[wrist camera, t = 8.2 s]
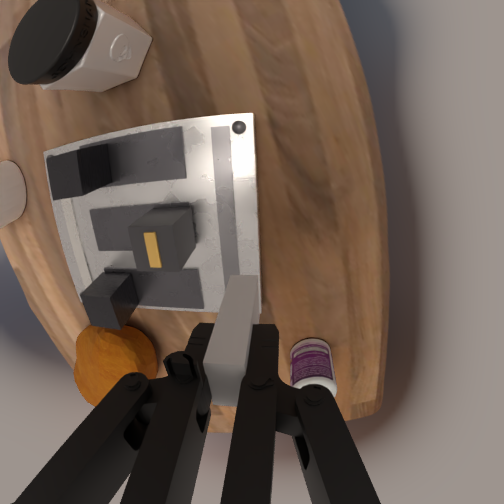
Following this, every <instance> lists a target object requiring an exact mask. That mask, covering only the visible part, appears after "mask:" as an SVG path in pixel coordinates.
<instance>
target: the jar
mask: <svg viewBox="0 0 504 504" xmlns="http://www.w3.org/2000/svg"><path fill="white" fill-rule="evenodd" d="M151 42H152V37H151V36H150V35H149V34H148V33H147V32H146V31H145V30H144V29H143V28H141V27H140V26H139V25H138V24H137V23H136V22H135V21H134V20H133V19H132V18H131V17H129V16H127V15H126V14H124V13H122V12H120V11H119V10H117V9H115V8H113V7H111V6H109V5H108V4H106V3H104V2H102V1H100V0H38V1H37V2H36V3H35V4H34V5H33V6H32V7H31V8H30V9H29V10H28V11H27V13H26V14H25V15H24V17H23V18H22V20H21V21H20V23H19V25H18V27H17V29H16V31H15V33H14V36H13V38H12V41H11V45H10V49H9V55H8V66H9V71H10V74H11V76H12V78H13V79H14V80H15V81H16V82H18V83H20V84H40V86H41V87H42V89H44V90H77V91H92V92H103V91H106V90H108V89H110V88H113V87H115V86H117V85H120V84H122V83H125V82H128V81H130V80H133V79H135V78H137V76H138V74H139V71H140V68H141V66H142V63H143V61H144V58H145V56H146V53H147V51H148V48H149V46H150V44H151Z"/></svg>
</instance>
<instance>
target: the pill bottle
mask: <svg viewBox="0 0 504 504" xmlns="http://www.w3.org/2000/svg"><path fill="white" fill-rule="evenodd" d="M290 381H291V383H290V385H291V386H292V387H295V388H299V389H300V388H302V387H303V386H306V385H308V384H320V385H323V386H325V387H327V388H328V389H329V390H330V391H331V393H332V394H333V397H335V395H336V393H337V384H336V378H335V372H334V366H333V361H332V355H331V350H330V347H329V345H328V344H327V343H326V342H324V341H322V340H319V339H306V340H303V341H300V342H299V343H297V344H296V345H295V346H294V347H293V348H292V350H291V353H290Z"/></svg>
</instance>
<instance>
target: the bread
mask: <svg viewBox="0 0 504 504" xmlns="http://www.w3.org/2000/svg"><path fill="white" fill-rule="evenodd" d="M76 354H77V359H76V364H75V369H74V378H75V382H76V384H77V386H78V389H79V391H80V393H81V394H82V396H83V397H84V398H85V400H86V401H87V402H88V403H90V404H92V405H93V406H95V407H96V406H97V405H98V404H99V402H100V401H101V400H102V399H103V398H104V397H105V396H106V394H107V393H108V392H109V391H110V390H111V389H112V388H113V386H114V385H115V384H116V383H117V382H118V381H119V380H120V379H121V378H122V377H123V376H124V375H125V374H128V373H130V372H140V373H143V374H144V375H146V377H147V378H148V379H155V378H156V375H157V372H158V363H157V358H156V353H155V349H154V347H153V344H152V342H151V341H150V340H149V339H148V338H147V337H146V336H145V335H144V334H143V333H142V332H141V331H140V330H138V329H136V328H133V327H130V326H127V325H124V326H123V328H122V329H121V330H117V329H110V328H103V327H97V326H92V325H89V326H88V327H87V328H85V329H84V330H83V331H82V332H81V333H80V335H79V336H78V337H77V341H76Z"/></svg>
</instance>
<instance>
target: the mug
mask: <svg viewBox="0 0 504 504" xmlns="http://www.w3.org/2000/svg"><path fill="white" fill-rule="evenodd" d="M25 205H26V186H25V181H24V177H23V175H22V172H21V171H20V169H19V167H18V166H17V165H16V164H15V163H13V162H11V161H8V160H7V161H2V162H0V228H2V227H4V226H6V225H7V224H9V223H11V222H13V221H15V220H16V219H18V218H19V217H20V216H21V215H22V213H23V211H24V209H25Z"/></svg>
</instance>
